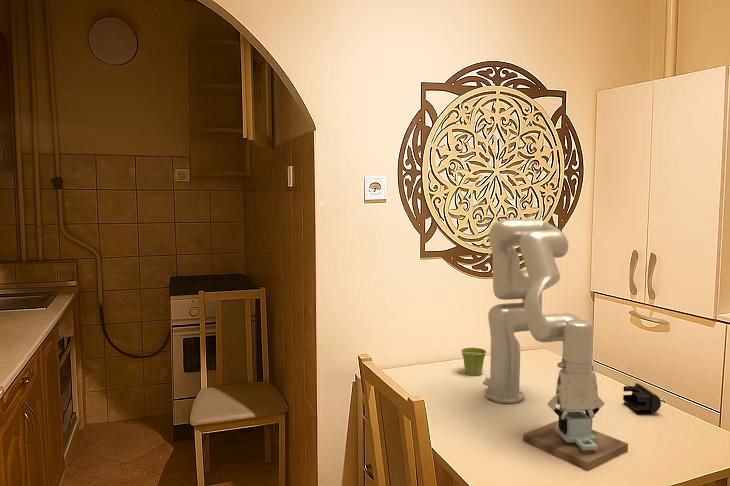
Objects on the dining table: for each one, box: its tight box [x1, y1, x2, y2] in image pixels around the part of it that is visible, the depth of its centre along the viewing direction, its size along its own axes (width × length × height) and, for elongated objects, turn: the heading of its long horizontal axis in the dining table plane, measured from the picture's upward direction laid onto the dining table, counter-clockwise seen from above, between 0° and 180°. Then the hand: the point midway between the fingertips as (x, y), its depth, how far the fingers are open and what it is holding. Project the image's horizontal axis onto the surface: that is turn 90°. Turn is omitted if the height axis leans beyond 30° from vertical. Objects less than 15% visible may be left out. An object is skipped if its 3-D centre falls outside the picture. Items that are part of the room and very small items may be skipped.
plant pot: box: [460, 347, 487, 376], centre depth 211 cm, size 9×9×9 cm
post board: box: [522, 419, 629, 471], centre depth 152 cm, size 20×18×6 cm
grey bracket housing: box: [555, 410, 598, 450], centre depth 149 cm, size 13×8×6 cm, turn 5°
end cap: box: [622, 382, 662, 416], centre depth 176 cm, size 10×7×7 cm
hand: (575, 430), depth 152 cm, fingers closed on grey bracket housing, 6 cm apart
